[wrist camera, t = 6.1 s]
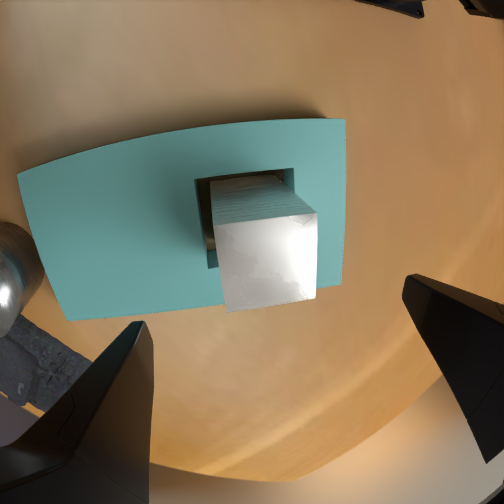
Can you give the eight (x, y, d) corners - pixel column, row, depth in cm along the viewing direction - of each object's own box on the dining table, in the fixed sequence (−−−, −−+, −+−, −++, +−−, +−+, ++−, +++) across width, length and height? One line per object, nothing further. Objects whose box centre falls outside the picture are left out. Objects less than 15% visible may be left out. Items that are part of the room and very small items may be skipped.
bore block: (327, 118, 17) (345, 119, 15) (327, 267, 22) (340, 284, 20) (35, 166, 15) (16, 174, 13) (77, 301, 20) (67, 320, 18)
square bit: (272, 174, 18) (317, 213, 11) (275, 231, 20) (315, 297, 13) (209, 181, 18) (213, 225, 11) (217, 239, 19) (226, 312, 12)
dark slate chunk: (97, 429, 29) (92, 458, 25) (-37, 344, 20) (-52, 368, 16) (142, 380, 25) (137, 418, 21) (-35, 260, 17) (-61, 285, 12)
